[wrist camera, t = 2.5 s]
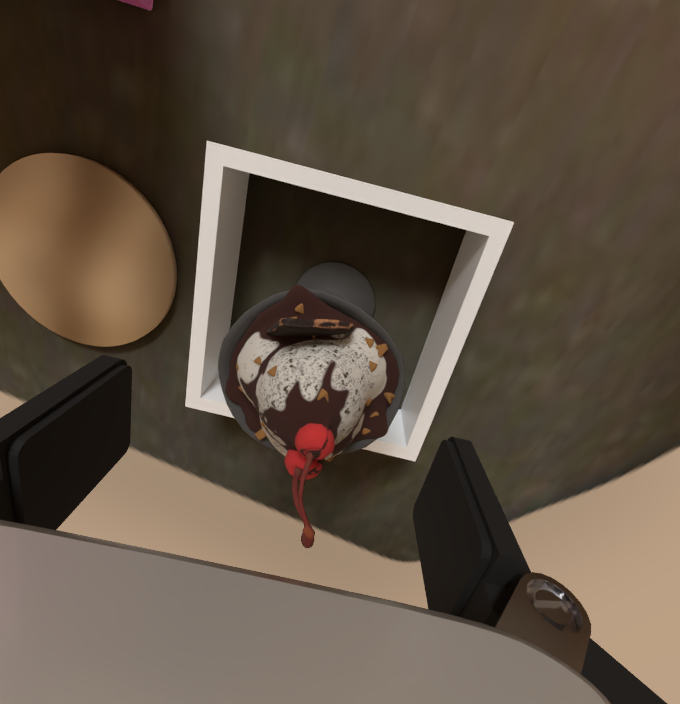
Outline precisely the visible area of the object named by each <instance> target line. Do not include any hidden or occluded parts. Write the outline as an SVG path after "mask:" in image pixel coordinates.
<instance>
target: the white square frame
mask: <svg viewBox="0 0 680 704" xmlns="http://www.w3.org/2000/svg"><path fill="white" fill-rule="evenodd" d="M249 173H252V174H256V175H259V176H263V177H267V178H271V179H275V180H278V181H282V182H286V183H290V184H293V185H297V186H301V187H305V188H309V189H312V190H316V191H320V192H324V193H328V194H331V195H335V196H339V197H343V198H347V199H350V200H354V201H358V202H362V203H366V204H369V205H373V206H377V207H381V208H385V209H388V210H392V211H396V212H400V213H403V214H407V215H411V216H415V217H419V218H422V219H426V220H430V221H434V222H438V223H441V224H445V225H449V226H453V227H457V228H460V229H464V230H466V233H465V235H464V238H463V241H462V243H461V246H460V249H459V252H458V254H457V257H456V260H455V263H454V265H453V268H452V271H451V274H450V276H449V279H448V282H447V284H446V287H445V290H444V293H443V295H442V298H441V301H440V304H439V306H438V309H437V312H436V315H435V317H434V320H433V323H432V326H431V328H430V331H429V334H428V336H427V339H426V342H425V345H424V347H423V350H422V353H421V356H420V358H419V361H418V364H417V367H416V369H415V372H414V375H413V377H412V380H411V383H410V386H409V388H408V391H407V394H406V397H405V399H404V402H403V405H402V408H401V410H400V409H398V412H397V414H396V416H395V417H394V419H393V421H392V423H391V425H390V427H389V429H388V432H387V434H386V435H385V436H383V437H381V438H378V439H377V440H375V441H374V442H372V443H371V444H370V445H368V446H367V447H365V448H363V449H365V450H369V451H373V452H377V453H382V454H386V455H390V456H394V457H398V458H402V459H407V460H411V461H416V459H417V456H418V454H419V452H420V449H421V447H422V444H423V442H424V439H425V437H426V435H427V432H428V430H429V427H430V425H431V423H432V420H433V418H434V415H435V413H436V410H437V408H438V406H439V403H440V401H441V398H442V396H443V393H444V391H445V389H446V386H447V384H448V381H449V379H450V377H451V374H452V372H453V369H454V367H455V364H456V362H457V360H458V357H459V355H460V352H461V350H462V347H463V345H464V343H465V340H466V338H467V335H468V333H469V331H470V328H471V326H472V323H473V321H474V318H475V316H476V314H477V311H478V309H479V306H480V304H481V302H482V299H483V297H484V294H485V292H486V289H487V287H488V285H489V282H490V280H491V277H492V275H493V272H494V270H495V268H496V265H497V263H498V260H499V258H500V256H501V253H502V251H503V248H504V246H505V243H506V241H507V239H508V236H509V234H510V231H511V229H512V226H513V224H514V222H512V221H508V220H504V219H500V218H497V217H493V216H489V215H485V214H481V213H478V212H474V211H470V210H466V209H463V208H459V207H455V206H451V205H448V204H444V203H440V202H436V201H433V200H429V199H425V198H421V197H417V196H414V195H410V194H406V193H402V192H399V191H395V190H391V189H387V188H384V187H380V186H376V185H372V184H369V183H365V182H361V181H357V180H353V179H350V178H346V177H342V176H338V175H335V174H331V173H327V172H323V171H320V170H316V169H312V168H308V167H305V166H301V165H297V164H293V163H289V162H286V161H282V160H278V159H274V158H271V157H267V156H263V155H259V154H256V153H252V152H248V151H244V150H241V149H237V148H233V147H229V146H225V145H222V144H218V143H214V142H210V141H207V144H206V157H205V169H204V181H203V194H202V206H201V218H200V231H199V243H198V255H197V268H196V280H195V292H194V305H193V317H192V329H191V342H190V354H189V367H188V379H187V391H186V404H185V406H186V407H190V408H194V409H199V410H203V411H207V412H211V413H215V414H219V415H223V416H228V417H232V418H234V417H233V415H232V413H231V411H230V409H229V408H228V406H227V404H226V401H225V398H224V395H223V392H222V388H221V383H220V379H219V372H218V359H219V353H220V349H221V346H222V342H223V339H224V338H225V336H226V335H227V333H228V332H229V330H230V324H231V316H232V308H233V300H234V292H235V284H236V276H237V268H238V260H239V252H240V245H241V237H242V229H243V221H244V213H245V205H246V197H247V189H248V181H249Z"/></svg>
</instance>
